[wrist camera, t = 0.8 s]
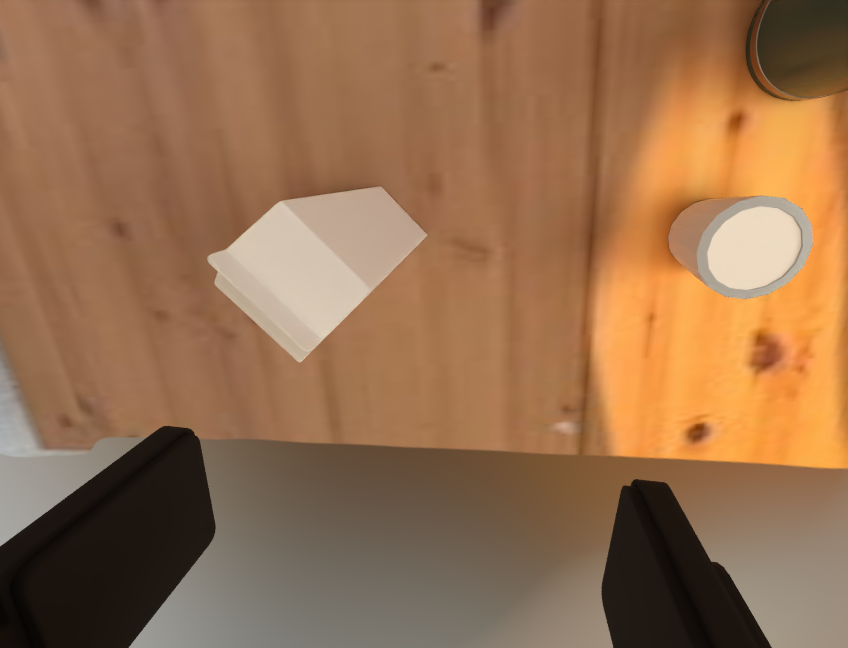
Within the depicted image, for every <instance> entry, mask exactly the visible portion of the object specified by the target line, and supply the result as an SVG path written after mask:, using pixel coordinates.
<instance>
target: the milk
mask: <svg viewBox="0 0 848 648" xmlns="http://www.w3.org/2000/svg"><path fill="white" fill-rule="evenodd" d="M426 237H427V234H426V233H425V232H424V231H423V230H422V229H421V227H420V226H419V225H418V224H417V223H416V222H415V221H414V220H413V219H412V218H411V217H410V216H409V215H408V214H407V213H406V212H405V211H404V210H403V209H402V208H401V207H400V206H399V205H398V204H397V203H396V202H395V201H394V199H393V198H392V197H391V196H390V195H389V194H388V193H387V192H386V191H385V190H384V189H383V188H382V187H381V186H379V187H372V188H365V189H358V190H352V191H345V192H338V193H331V194H324V195H317V196H311V197H304V198H297V199H290V200H283V201H279V202H278V203H277V204H275V205H274V206H273V207H272V208H271V209H270V210H269V211H268V212H267V213H265V214H264V215H263V216H262V217H261V218H260V219H259V220H258V221H257V222H255V223H254V224H253V225H252V226H251V227H250V228H249V229H248V230H247V231H245V232H244V233H243V234H242V235H241V236H240V237H239V238H238V239H237V240H236V241H234V242H233V243H232V244H231V245H230V246H229V247H228V248H227V249H225V250H223V251H219V252H216V253H213V254H210V255H209V256H208V257H207V260H208V262H209V264H210V265H211V266H213V267H214V268H215V269H216V270H217V271H218V273H217V276H216V279H215V283H214V284H215V285H216V286H217V287H218V288H219V289H220V290H221V291H222V292H223V293H224V294H225V295H226V296H227V297H228V298H230V299H231V300H232V301H233V302H234V303H235V304H236V305H237V306H238V307H239V308H240V309H241V310H243V311H244V312H245V313H246V314H247V315H248V316H249V317H250V318H251V319H252V320H253V321H254V322H255V323H257V324H258V325H259V326H260V327H261V328H262V329H263V330H264V331H265V332H266V333H267V334H268V335H270V336H271V337H272V338H273V339H274V340H275V341H276V342H277V343H278V344H279V345H280V346H281V347H283V348H284V349H285V350H286V351H287V352H288V353H289V354H290V355H291V356H292V357H293V358H294V359H296V360H297V361H298V362H301V361H302V360H303V359H304V358H305V357H306V356H307V355H308V354H309V353H310V352H311V351H312V350H313V349H314V348H315V347H316V346H317V345H318V344H319V343H320V342H321V341H322V340H323V339H324V338H325V337H326V336H327V335H328V334H329V333H330V332H331V331H332V330H333V329H335V328H336V327H337V326H338V325H339V324H340V323H341V322H342V321H343V320H344V319H345V318H346V317H347V316H348V315H349V314H350V313H351V312H352V311H353V310H354V309H355V308H356V307H357V306H358V305H359V304H360V303H361V302H362V301H363V300H364V299H365V298H366V297H367V296H368V295H369V294H370V293H371V292H372V291H373V290H374V289H375V288H376V287H377V286H378V285H379V284H380V283H381V282H382V281H383V280H384V279H385V278H386V277H387V276H388V275H389V274H390V273H391V272H392V271H393V270H394V269H395V268H396V267H397V266H398V265H399V264H400V263H401V262H402V261H403V260H404V259H405V258H406V257H407V256H408V255H409V254H410V253H411V252H412V251H413V250H414V249H415V248H416V247H417V246H418V245H419V244H420V243H421V242H422V241H423V240H424V239H425V238H426Z"/></svg>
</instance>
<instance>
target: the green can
mask: <svg viewBox="0 0 848 648" xmlns="http://www.w3.org/2000/svg"><path fill="white" fill-rule="evenodd" d="M746 57H747V64H748V67H749V71H750V73H751V75H752V77H753V79H754V80H755V82H756V83H757V84H758V85H759V86H760V87H761V88H762V89H763V90H764V91H765V92H767V93H768V94H770V95H772V96H774V97H777V98H780V99H784V100H791V101H800V100H810V99H816V98H821V97H825V96H829V95H832V94H835V93H839V92H844V91H848V0H764V1H763V2H762V4H761V6H760V7H759V9H758V10H757V12H756V14H755V17H754V19H753V21H752V24H751V26H750V29H749V33H748V38H747V45H746Z"/></svg>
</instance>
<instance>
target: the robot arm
mask: <svg viewBox="0 0 848 648" xmlns="http://www.w3.org/2000/svg"><path fill="white" fill-rule="evenodd" d="M214 534H215V520H214V515H213V510H212V504H211V499H210V493H209V488H208V483H207V477H206V472H205V467H204V461H203V456H202V450H201V445H200V441H199V438H198V437H197V436H195V434H194V432H193V431H192V430H191V429H189V428H181V427H173V426H163V427H161V428H160V429H158V430H157V431H155V432H154V433H153V434H151V435H150V436H149V437H147V438H146V439H145V440H143V441H142V442H141V443H139V444H138V445H136V446H135V447H134V448H132V449H131V450H130V451H128V452H127V453H126V454H124V455H123V456H122V457H120V458H119V459H118V460H116V461H115V462H114V463H112V464H111V465H110V466H108V467H107V468H106V469H104V470H103V471H101V472H100V473H99V474H97V475H96V476H95V477H93V478H92V479H91V480H89V481H88V482H87V483H85V484H84V485H83V486H81V487H80V488H79V489H77V490H76V491H74V492H73V493H72V494H70V495H69V496H68V497H67V498H65V499H64V500H62V501H61V502H60V503H58V504H57V505H56V506H54V507H53V508H52V509H50V510H49V511H48V512H46V513H45V514H44V515H42V516H41V517H40V518H38V519H37V520H35V521H34V522H33V523H31V524H30V525H29V526H27V527H26V528H25V529H23V530H22V531H21V532H19V533H18V534H17V535H15V536H14V537H13V538H11V539H10V540H9V541H7V542H6V543H5V544H3V545H2V546H0V648H129V646H130V645H131V644H132V642H133V641H134V640H135V639H136V637H137V636H138V635H139V633H140V632H141V631H142V630H143V628H144V627H145V626H146V625H147V623H148V622H149V621H150V620H151V618H152V617H153V615H154V614H155V613H156V612H157V610H158V609H159V608H160V607H161V605H162V604H163V603H164V602H165V600H166V599H167V598H168V596H169V595H170V594H171V593H172V591H173V590H174V589H175V588H176V586H177V585H178V584H179V583H180V581H181V580H182V578H183V577H184V576H185V575H186V574H187V572H188V571H189V570H190V569H191V567H192V566H193V565H194V563H195V562H196V561H197V560H198V558H199V557H200V556H201V555H202V553H203V552H204V551H205V549H206V548H207V547H208V546H209V544H210V543H211V541H212V539H213V537H214ZM602 602H603V607H604V611H605V615H606V619H607V623H608V627H609V631H610V635H611V639H612V643H613V648H772V647H771V646H770V644H769V642H768V640H767V639H766V637H765V635H764V634H763V632H762V630H761V629H760V627H759V625H758V623H757V622H756V620H755V618H754V616H753V615H752V613H751V611H750V610H749V608H748V606H747V604H746V603H745V601H744V599H743V598H742V596H741V594H740V592H739V591H738V589H737V587H736V586H735V584H734V582H733V580H732V579H731V577H730V575H729V574H728V573H727V571H726V570H725V568H724V567H723V566H721V565H720V564H718V563H717V562H711V561H710V559H709V557H708V555H707V553H706V552H705V550H704V548H703V546H702V545H701V543H700V541H699V539H698V537H697V535H696V534H695V532H694V530H693V528H692V526H691V525H690V523H689V521H688V519H687V518H686V516H685V514H684V512H683V510H682V509H681V507H680V505H679V503H678V501H677V499H676V498H675V496H674V494H673V492H672V490H671V489H670V487H669V486H668V484H666V483H664V482H656V481H646V480H638V479H636V480H633V482H632V483H631V486H623V487H622V490H621V494H620V499H619V504H618V508H617V513H616V518H615V523H614V528H613V533H612V538H611V542H610V548H609V552H608V558H607V562H606V567H605V572H604V577H603V582H602Z"/></svg>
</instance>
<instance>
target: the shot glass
mask: <svg viewBox="0 0 848 648" xmlns="http://www.w3.org/2000/svg"><path fill="white" fill-rule="evenodd" d="M668 241H669V249H670V252H671V253H672V255H673V256H674V258H675V259H676V260H677V261H678V262H679V263H680V264H681V265H682V266H684V267H685V268H686V269H687V270H688V271H690V272H691V273H692V274H693V275H694V276H696V277H697V278H698V279H699V280H700V281H702V282H703V283H704V284H705V285H706V286H708V287H709V288H711V289H713V290H714V291H716V292H718V293H720V294H721V295H723V296H725V297H732V298H740V299H749V298H754V297H758V296H763V295H768V294H769V293H771V292H773V291H775V290H777V289H778V288H780V287H782V286H784V285H785V284H787V283H789V282H790V281H791V279H792V278H793V277H794V276H795V275H796V274H797V273H798V272H799V271H800V270H801V269H802V268H803V266H804V265H805V263H806V260H807V258H808V255H809V253H810V251H811V248H812V246H813V242H812V225H811V223H810V221H809V220H808V218H807V216H806V214H805V213H804V211H803V209H802V208H800V207H799V206H797V205H795V204H793V203H792V202H790V201H788V200H787V199H785V198H779V197H769V196H749V197H733V198H717V199H708V200H704V201H700V202H696V203H694V204H692V205H691V206H689V207H688V208H686V209H685V210H683V211H682V212H681V213H680V214H679V215H678V217H677V218H676V219H675V221H674V222H673V223H672V226H671V229H670V232H669V236H668Z"/></svg>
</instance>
